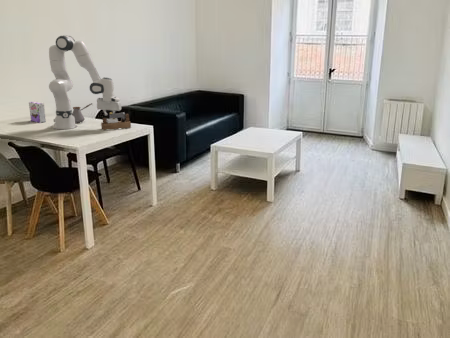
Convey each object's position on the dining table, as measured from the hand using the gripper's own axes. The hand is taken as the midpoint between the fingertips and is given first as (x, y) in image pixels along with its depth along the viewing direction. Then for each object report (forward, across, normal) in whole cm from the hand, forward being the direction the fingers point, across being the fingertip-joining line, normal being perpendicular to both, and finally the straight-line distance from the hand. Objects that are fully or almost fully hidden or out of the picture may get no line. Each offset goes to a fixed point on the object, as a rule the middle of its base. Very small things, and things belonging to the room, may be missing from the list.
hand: (109, 115), depth 329 cm
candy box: (+11, -70, +2) cm, 71 cm away
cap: (+5, +3, -2) cm, 6 cm away
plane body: (+10, +5, 0) cm, 11 cm away
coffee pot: (+11, -35, +16) cm, 40 cm away
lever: (+5, +7, +1) cm, 8 cm away
